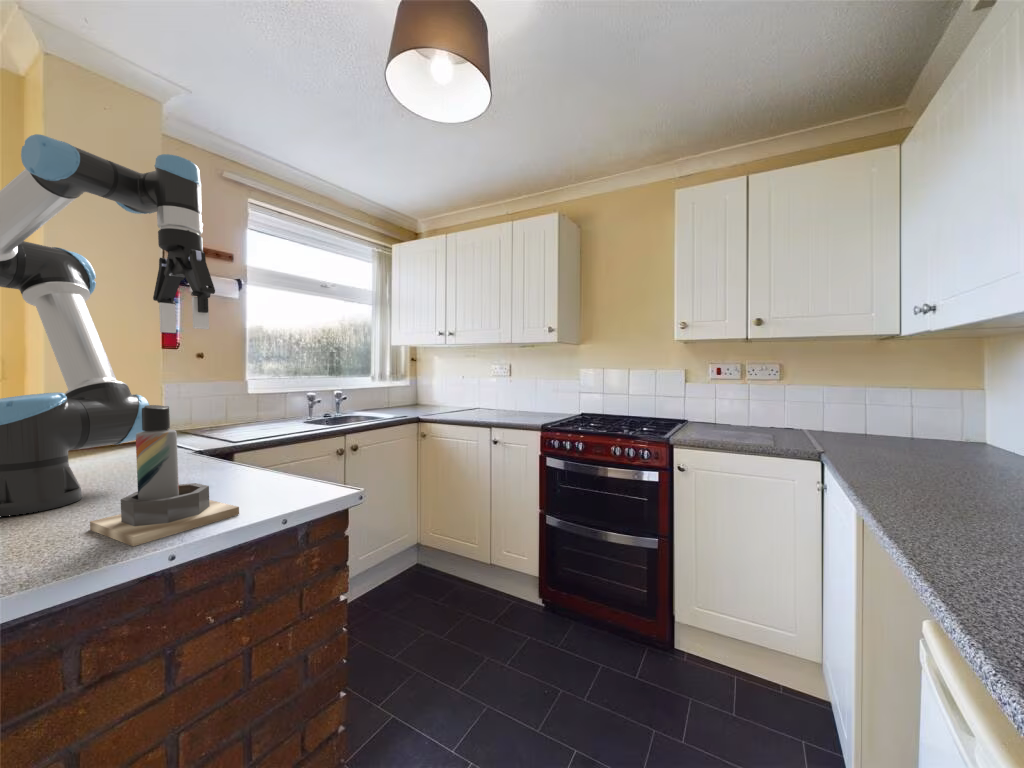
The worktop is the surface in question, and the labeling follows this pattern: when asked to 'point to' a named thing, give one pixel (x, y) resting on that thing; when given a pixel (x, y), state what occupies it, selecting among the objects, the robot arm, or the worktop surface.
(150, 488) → the lotion bottle
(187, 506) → the holder
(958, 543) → the worktop surface
